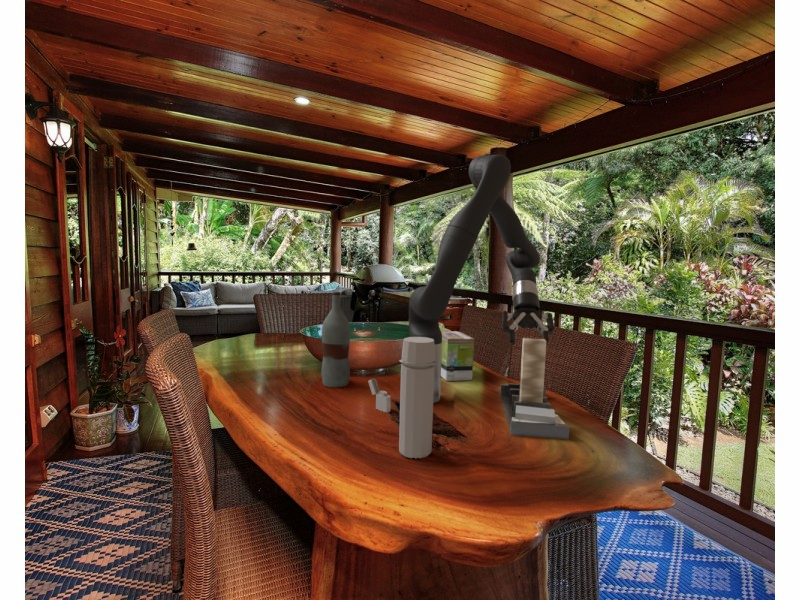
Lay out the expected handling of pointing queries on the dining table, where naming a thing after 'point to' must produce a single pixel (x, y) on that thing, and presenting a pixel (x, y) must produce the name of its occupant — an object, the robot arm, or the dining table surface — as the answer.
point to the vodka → (335, 346)
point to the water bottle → (416, 397)
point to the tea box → (457, 356)
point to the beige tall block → (532, 370)
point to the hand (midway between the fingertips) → (529, 344)
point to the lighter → (380, 397)
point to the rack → (516, 428)
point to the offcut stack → (536, 415)
